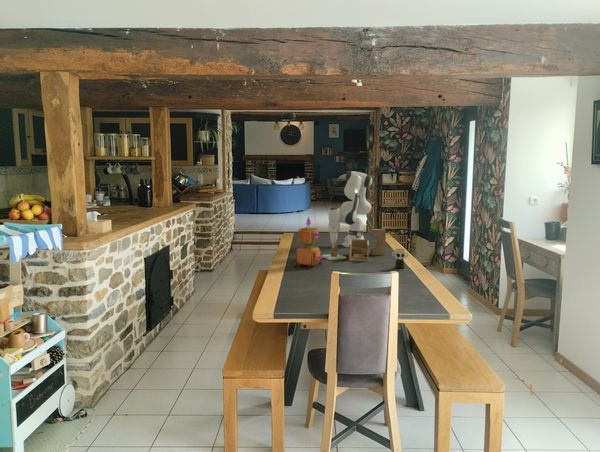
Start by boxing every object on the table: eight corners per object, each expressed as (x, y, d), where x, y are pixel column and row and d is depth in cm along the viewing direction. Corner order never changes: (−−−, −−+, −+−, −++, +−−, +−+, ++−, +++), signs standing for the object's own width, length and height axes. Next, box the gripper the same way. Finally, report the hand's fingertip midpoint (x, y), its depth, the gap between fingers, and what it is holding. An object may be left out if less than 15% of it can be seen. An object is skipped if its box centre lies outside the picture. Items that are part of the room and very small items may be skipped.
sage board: (322, 256, 381) (322, 255, 381) (338, 255, 386) (338, 253, 385) (329, 259, 368) (329, 258, 368) (346, 258, 373) (346, 257, 372)
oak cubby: (350, 254, 391) (350, 239, 390) (368, 254, 389) (368, 239, 388) (348, 260, 365) (349, 244, 364) (368, 261, 363) (368, 245, 362)
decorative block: (371, 255, 388) (371, 229, 385) (370, 253, 394) (370, 228, 391) (385, 255, 388) (386, 229, 385) (384, 253, 393) (384, 228, 391)
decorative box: (330, 265, 350) (330, 215, 345) (316, 270, 331) (317, 218, 327) (306, 262, 359) (306, 214, 354) (292, 267, 340) (292, 217, 335)
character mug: (392, 268, 339) (392, 250, 337) (391, 266, 346) (391, 248, 344) (408, 269, 338) (408, 250, 336) (407, 267, 345) (407, 248, 343)
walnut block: (331, 255, 379) (331, 243, 378) (337, 255, 379) (337, 244, 377) (331, 256, 375) (331, 244, 374) (337, 256, 374) (337, 244, 373)
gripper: (331, 226, 385) (330, 243, 387) (328, 230, 365) (328, 248, 367) (339, 226, 384) (338, 244, 386) (337, 230, 364) (337, 249, 366)
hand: (333, 246), depth 376 cm, fingers open, 8 cm apart
